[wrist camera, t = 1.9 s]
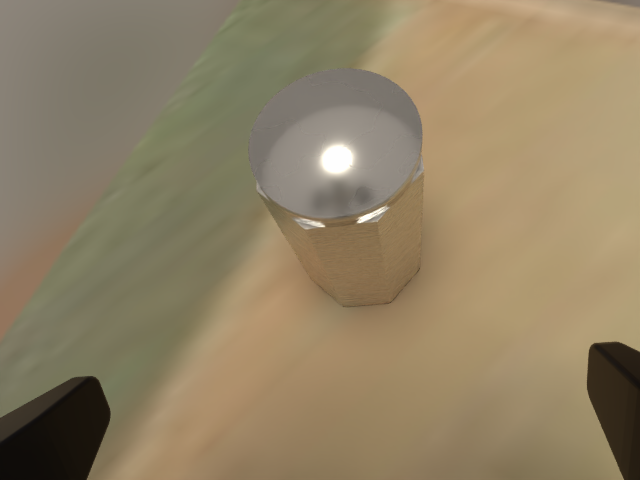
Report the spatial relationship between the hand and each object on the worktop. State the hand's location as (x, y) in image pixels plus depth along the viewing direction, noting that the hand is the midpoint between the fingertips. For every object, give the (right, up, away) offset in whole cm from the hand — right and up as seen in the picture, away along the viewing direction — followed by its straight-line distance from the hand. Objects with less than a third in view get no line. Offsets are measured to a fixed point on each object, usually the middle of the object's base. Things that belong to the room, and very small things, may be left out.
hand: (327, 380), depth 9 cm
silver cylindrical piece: (+2, +2, +15) cm, 15 cm away
